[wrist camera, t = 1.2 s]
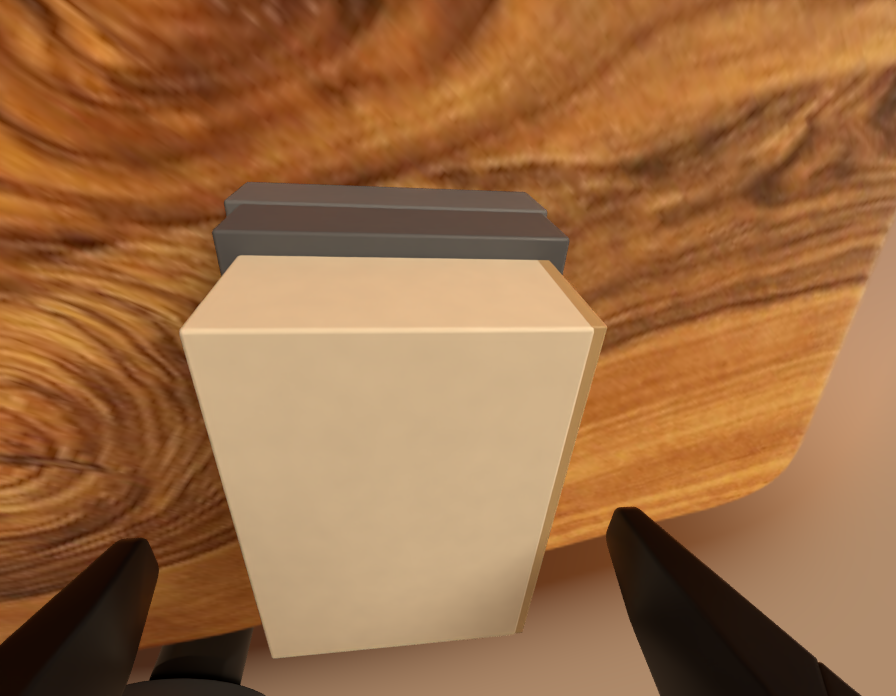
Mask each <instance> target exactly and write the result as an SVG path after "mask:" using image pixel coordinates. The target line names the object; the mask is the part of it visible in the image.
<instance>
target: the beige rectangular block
mask: <svg viewBox="0 0 896 696" xmlns="http://www.w3.org/2000/svg"><path fill="white" fill-rule="evenodd" d="M606 330H607V326H606V325H605V324H604V323H603V321H602V320H601V319H600V318H599V317H598V316H597V315H596V313H595V312H594V311H593V310H592V309H591V308H590V306H589V305H588V304H587V303H586V302H585V301H584V300H583V298H582V297H581V296H580V295H579V294H578V293H577V292H576V290H575V289H574V288H573V287H572V286H571V285H570V284H569V282H568V281H567V280H566V279H565V278H564V277H563V275H562V274H561V273H560V272H559V271H558V270H557V269H556V267H555V266H554V265H553V264H552V263H551V262H550V261H549V260H505V259H442V258H379V257H316V256H253V255H240V256H237V258H236V259H235V260H234V261H233V263H232V264H231V265H230V266H229V268H228V269H227V270H226V272H225V273H224V274H223V275H222V277H221V278H220V279H219V280H218V282H217V283H216V284H215V285H214V287H213V288H212V289H211V291H210V292H209V293H208V294H207V296H206V297H205V298H204V299H203V301H202V302H201V303H200V304H199V306H198V307H197V308H196V310H195V311H194V312H193V313H192V315H191V316H190V317H189V318H188V320H187V321H186V322H185V323H184V325H183V326H182V327H181V329H180V332H179V335H180V338H181V342H182V345H183V349H184V352H185V356H186V359H187V363H188V366H189V370H190V373H191V377H192V380H193V384H194V387H195V391H196V394H197V398H198V401H199V405H200V408H201V412H202V415H203V419H204V422H205V426H206V429H207V433H208V436H209V440H210V443H211V447H212V450H213V454H214V457H215V461H216V464H217V468H218V471H219V475H220V478H221V482H222V485H223V489H224V492H225V495H226V499H227V502H228V506H229V509H230V513H231V516H232V520H233V523H234V527H235V530H236V534H237V537H238V541H239V544H240V548H241V551H242V555H243V558H244V562H245V565H246V569H247V572H248V576H249V579H250V583H251V586H252V590H253V593H254V597H255V600H256V604H257V607H258V611H259V614H260V618H261V621H262V625H263V628H264V632H265V635H266V639H267V642H268V645H269V649H270V652H271V656H272V658H284V657H294V656H304V655H314V654H324V653H334V652H345V651H355V650H365V649H374V648H385V647H395V646H405V645H415V644H424V643H435V642H445V641H455V640H465V639H475V638H485V637H496V636H505V635H513V634H515V633H522V631H523V628H524V624H525V620H526V617H527V614H528V610H529V606H530V603H531V599H532V596H533V592H534V588H535V585H536V581H537V577H538V574H539V570H540V567H541V563H542V560H543V556H544V552H545V549H546V545H547V542H548V538H549V534H550V531H551V527H552V524H553V520H554V516H555V513H556V509H557V506H558V502H559V499H560V495H561V491H562V488H563V484H564V481H565V477H566V473H567V470H568V466H569V463H570V459H571V455H572V452H573V448H574V445H575V441H576V437H577V434H578V430H579V427H580V423H581V419H582V416H583V412H584V409H585V405H586V401H587V398H588V394H589V391H590V387H591V384H592V380H593V376H594V373H595V369H596V366H597V362H598V358H599V355H600V351H601V348H602V344H603V340H604V337H605V333H606Z"/></svg>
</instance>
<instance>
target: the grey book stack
mask: <svg viewBox="0 0 896 696" xmlns="http://www.w3.org/2000/svg"><path fill="white" fill-rule="evenodd" d="M224 206H225V211H226V216H227V217H226V218H225V219H224V220H223V221H222V222H221V223H220V224H219V225H218V226H217V227H215V228H214V229H213V231H212V235H213V239H214V244H215V249H216V253H217V258H218V263H219V267H220V272H221V277H222V275H223V274H224V273H225V272H226V270H227V269H228V268H229V266H230V265H231V264H232V263H233V261H234V260H235V259H236V258H237V256H240V255H253V256H316V257H379V258H442V259H505V260H549V261H550V262H551V263H552V264H553V265H554V266H555V267H556V269H557V270H558V271H559V272H560V273H561V274H562V275H563V270H564V265H565V260H566V255H567V250H568V245H569V238H568V237H567V236H566V235H565V234H564V233H563V232H562V231H561V230H559V229H558V228H557V227H556V226H555V225H554V224H553V223H552V222H551V221H549V220H548V219H547V218H546V217H547V210H546V209H544V208H543V207H542V206H541V205H540V204H539V203H537V202H536V201H535V200H534V199H533V198H532V197H530V196H529V195H528V194H527V193H525V192H506V191H479V190H451V189H424V188H397V187H370V186H342V185H315V184H288V183H261V182H247V183H245V184H244V185H243V186H242V187H240V188H239V189H238V190H237V191H236V192H234V193H233V194H232V195H231V196H229V197H228V198H227V199H226V200H225V201H224Z"/></svg>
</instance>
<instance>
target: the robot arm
mask: <svg viewBox="0 0 896 696" xmlns="http://www.w3.org/2000/svg"><path fill="white" fill-rule="evenodd" d="M606 541H607V546H608V549H609V553H610V556H611V559H612V563H613V566H614V569H615V572H616V576H617V579H618V583H619V586H620V589H621V593H622V596H623V600H624V602H625V606H626V609H627V613H628V616H629V619H630V622H631V624H632V627H633V629H634V632H635V634H636V637H637V640H638V642H639V645H640V647H641V649H642V652H643V654H644V657H645V659H646V662H647V664H648V667H649V669H650V672H651V674H652V677H653V679H654V682H655V684H656V686H657V689H658V691H659V694H660V696H861V695H860V694H859V693H857V692H856V691H855V690H854V689H853V688H851V687H850V686H849V685H848V684H846V683H845V682H844V681H843V680H842V679H841V678H839V677H838V676H837V675H836V674H835V673H833V672H832V671H831V670H830V669H829V668H828V667H826V666H825V665H824V664H823V663H821V662H818V661H817V659H816V658H815V657H814V656H813V655H812V654H811V653H809V652H808V651H807V650H806V649H805V648H804V647H802V646H801V645H800V644H799V643H798V642H797V641H795V640H794V639H793V638H792V637H791V636H789V635H788V634H787V633H786V632H785V631H783V630H782V629H781V628H780V627H779V626H778V625H776V624H775V623H774V622H773V621H772V620H770V619H769V618H768V617H767V616H766V615H764V614H763V613H762V612H761V611H760V610H758V609H757V608H756V607H755V606H754V605H752V604H751V603H750V602H749V601H748V600H747V599H745V598H744V597H743V596H742V595H741V594H740V593H738V592H737V591H736V590H735V589H733V588H732V587H731V586H730V585H729V584H728V583H727V582H725V581H724V580H723V579H722V578H720V577H719V576H718V575H717V574H716V573H715V572H713V571H712V570H711V569H710V568H709V567H708V566H706V565H705V564H704V563H703V562H701V561H700V560H699V559H698V558H697V557H696V556H694V555H693V554H692V553H691V552H690V551H688V550H687V549H686V548H685V547H684V546H683V545H681V544H680V543H679V542H678V541H677V540H675V539H674V538H673V537H672V536H671V535H670V534H668V533H667V532H666V531H665V530H664V529H662V528H661V527H660V526H659V525H658V524H657V523H655V522H654V521H653V520H652V519H651V518H649V517H648V516H647V515H646V514H645V513H643V512H642V511H641V510H640V509H638V508H636V507H619V508H617V509H616V510H615V511H614V513H613V516H612V519H611V521H610V524H609V527H608V529H607V533H606ZM158 574H159V566H158V562H157V560H156V558H155V556H154V553H153V551H152V549H151V547H150V545H149V542H148V541H147V540H146V539H145V538H127V539H121V540H119V541H117V542H115V543H114V544H113V545H112V546H111V547H110V548H108V549H107V550H106V551H105V552H104V553H103V554H102V555H101V556H99V557H98V558H97V559H96V560H95V561H94V562H93V563H92V564H90V565H89V566H88V567H87V568H86V569H85V570H84V571H83V572H81V573H80V574H79V575H78V576H77V577H76V578H75V579H74V580H72V581H71V582H70V583H69V584H68V585H67V586H66V587H65V588H63V589H62V590H61V591H60V592H59V593H58V594H57V595H56V596H54V597H53V598H52V599H51V600H50V601H49V602H48V603H47V604H45V605H44V606H43V607H42V608H41V609H40V610H39V611H38V612H36V613H35V614H34V615H33V616H32V617H31V618H30V619H29V620H27V621H26V622H25V623H24V624H23V625H22V626H21V627H20V628H18V629H17V630H16V631H15V632H14V633H13V634H12V635H11V636H9V637H8V638H7V639H6V640H5V641H4V642H3V643H2V644H1V645H0V696H122V694H123V692H124V689H125V687H126V684H127V681H128V679H129V675H130V673H131V670H132V667H133V664H134V661H135V657H136V654H137V651H138V647H139V644H140V640H141V636H142V633H143V629H144V626H145V622H146V618H147V615H148V611H149V608H150V604H151V601H152V597H153V593H154V590H155V586H156V583H157V579H158Z"/></svg>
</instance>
